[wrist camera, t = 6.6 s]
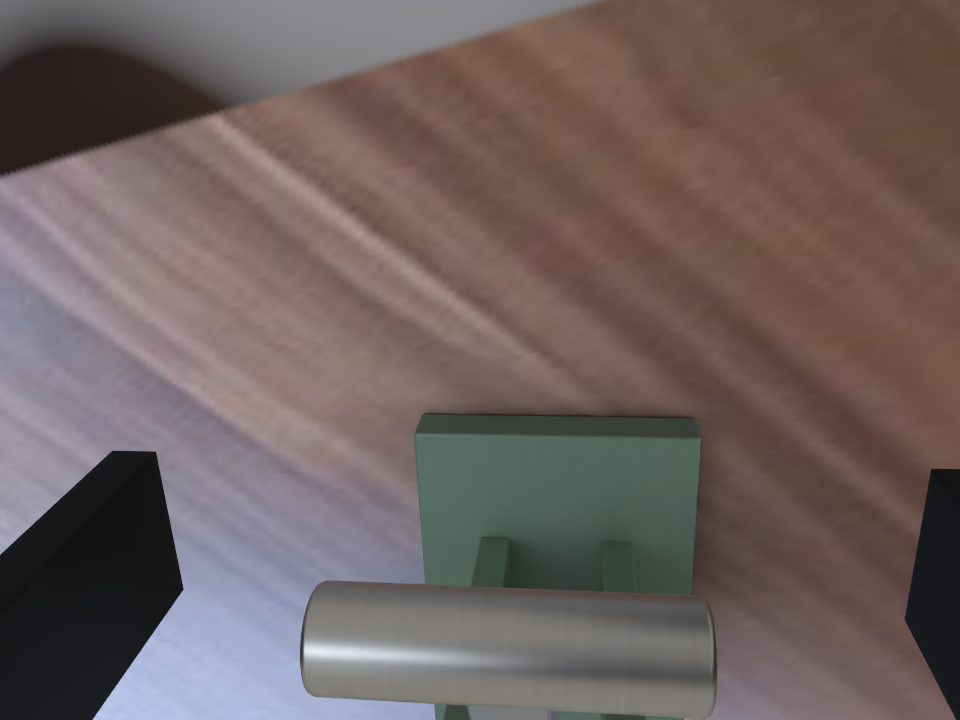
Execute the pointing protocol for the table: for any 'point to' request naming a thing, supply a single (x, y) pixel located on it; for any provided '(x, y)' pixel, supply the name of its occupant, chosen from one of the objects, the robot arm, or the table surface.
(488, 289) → the table surface
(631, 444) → the bracket
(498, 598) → the lever
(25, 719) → the robot arm
